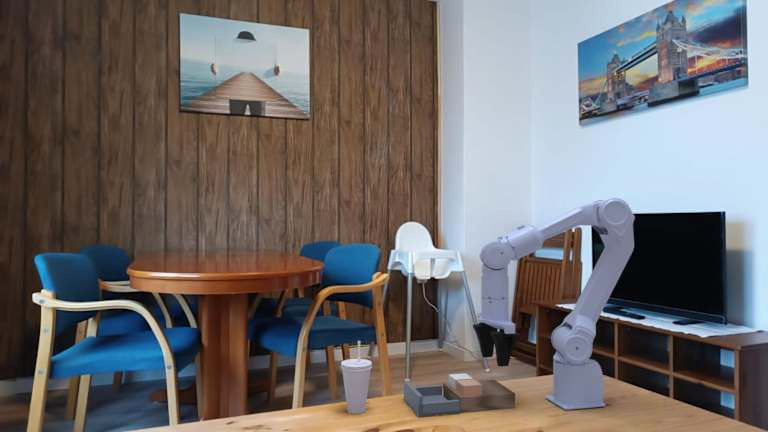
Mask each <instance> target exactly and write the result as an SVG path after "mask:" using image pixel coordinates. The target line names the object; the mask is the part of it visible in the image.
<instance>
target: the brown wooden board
mask: <svg viewBox="0 0 768 432" xmlns="http://www.w3.org/2000/svg"><path fill="white" fill-rule="evenodd" d="M476 381H477V382H479V383H480V384H482V395H471V396H463V395H462V394H460V393H459V392H458V391H457V390H456V389H454V388H453V387H452V386H451V385H449V382H444V383H443V382H442V383H443V384H442V395H443V396H444V397H445V398H446V399H447V400H459V401H460V414H461V413H473V412H483V411H484V412H485V411H495V410H506V409H507V410H508V409H516V393H515V392H514V391H513V390H511V389H509V388H508V387H506V386H504V384H501V383H500V382H499V381H497V380H496V379H483V380H476Z"/></svg>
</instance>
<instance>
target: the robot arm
mask: <svg viewBox="0 0 768 432" xmlns="http://www.w3.org/2000/svg"><path fill="white" fill-rule="evenodd" d="M635 219H636V216H635V215H634V213H633V211H632V209H631V207H630V205H629V203H627V201H625V200H623V199H622V198H619V197H610V198H607V199H599V200H597V199H596V201H595V200H594V201H593V202H591V203H586V204H583V205H580V206H577V207H574V208H572V209H569V210H568V211H567V212H564V213H563V214H560V215H559V216H557V217H554V218H553V219H550V220H549V221H547V222H545V223H543V224H541V225H539V226H534V225H532V224H527V225H524V224H520V225H518V226H516V228H517V229H516V230H514V231H512V232H510V233H507V234H506V235H499V236H497V240H494V241H489V242H487V243H485V244H484V245H483V246H482V247H481V249H480V250H481V251H480V253H479V259H480V261H481V262H482V266H481V273H482V274H481V286H480V289H481V298H480V299H481V303H480V304H481V305H480V306H481V307H480V308H481V310H480V311H481V312H477V313H476V321H475V322H477V323H475V324H472V329H474V330H473V331H474V332H475V334H476V337H477V339H478V342H479V348H480V353H481V356H482V358H493V356H494V352H495V357H496V359H495V360H496V363H497V367H508V366H509V364H510V360H511V357H512V353H513V350H514V347H515V344H516V342H517V341H518V339H519V337H520V333H518V332H516V323H514V322H512V321H511V319H510V318H509V317H510V316H509V313H510V311H509V309H510V307H509V303H510V301H509V300H510V297H509V291H510V289H509V287H510V286H509V285H510V283H509V278H510V277H509V274H508V273H509V272H508V271H509V270H508V269H509V268H508V267H509V265H510V264H511V261H513V262H515V261H517V260H519V259H521V258H525V257H526V256H528V255H531V254H532V253H535V252H536V251H538V250H541V249H542V247H543V244H544V242H545V240H548V239H550V238H553V237H555V236H557V235H560V234H562V233H565V232H567V231H570V230H572V229H574V228H577V227H578V226H591V227H592V228H593V229H594V230H595V231H596V232H597V233H598V234H599V237H600V238H601V241H602V243H603V245H604V249H603V250H602V251H601V254H600V256H599V258H598V260H597V262H596V264H595V266H594V268H593V269H592V272H591V274H590V276H589V278H588V280H587V282H586V284H585V286H584V287H583V290H582V292H581V294H580V296H579V297H578V300H577V301H576V303H575V305H574V307H573V309H572V311H571V312H570V313H569V314H567V316H565V317H564V319H563V322H561V324H560V325H559V326H557V327H556V328H554V329H553V331H552V333H551V338H550V340H551V341H550V342H551V345H552V347H553V348H554V349H555V350H556V351H555V353H554V355H553V357H552V358H553V359H552V361H553V363H552V368H553V369H552V371H553V375H552V376H553V377H552V378H553V394H552V395H551V394H549V395H545V396H544V398H545V399H546V400H547V401H550V403H551V402H552V403H553V404H555V405H557V406H558V407H559V408H561V409H563V410H566V411H567V410H568V411H569V410H581V409H591V408H601V407H606V403H605V402H604V385H603V384H604V376H603V371H602V368H601V367H602V366H601V365H600V364H599V362H598V361H596V360H595V359H591V356H592V354H593V343H594V339H595V337H596V335H597V334H596V333H597V331H596V329H597V327H596V324H597V322H598V320H599V318H600V316H601V315H602V312H603V310H604V308H605V306H606V304H607V302H608V301H609V299H610V296H611V295H612V292H613V291H614V289H615V287H616V285H617V283H618V281H619V280H620V277H621V275H622V273H623V271H624V269H625V267H626V265H627V263H628V261H629V260H630V258H631V256H632V253H634V248H635V237H634V221H635ZM494 350H495V351H494Z"/></svg>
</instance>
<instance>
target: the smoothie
mask: <svg viewBox="0 0 768 432" xmlns="http://www.w3.org/2000/svg"><path fill="white" fill-rule="evenodd" d="M372 368H373V363H372V361H371V360H369V359H364V358H361V340H357V358H350V359H344V360H342V361H341V363H340V369H341V370H342V379H343V385H344V393H345V395H344V396H345V404H346V411H347V413H348V414H353V415H357V414H363V413H366V409H367V408H366V407H367V399H368V391H369V383H370V377H371V369H372Z"/></svg>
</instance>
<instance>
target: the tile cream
mask: <svg viewBox="0 0 768 432" xmlns="http://www.w3.org/2000/svg"><path fill="white" fill-rule="evenodd" d="M470 379H474V378H473V377H472V376H470V375H469V374H467V373H465V372H464V373H452V374H448V383H449V385H451V386H452V387H453V388H454V389H456V380H470Z"/></svg>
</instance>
